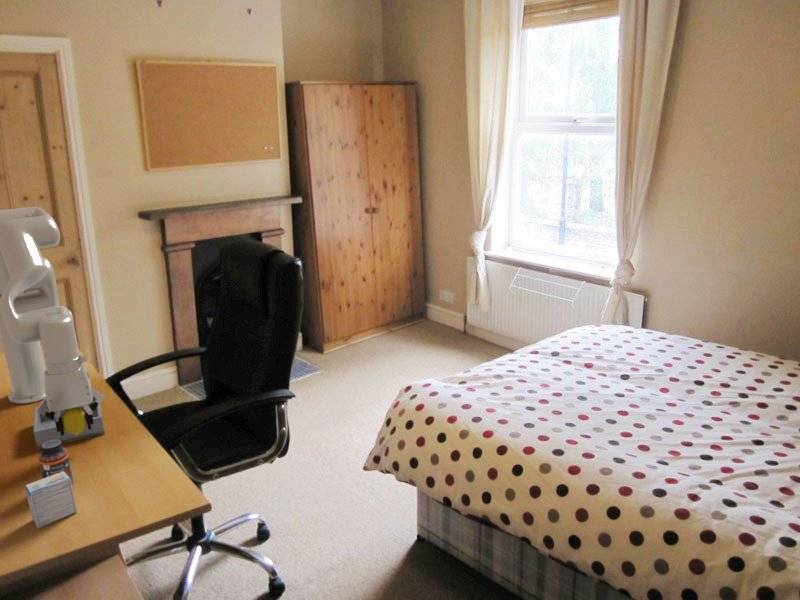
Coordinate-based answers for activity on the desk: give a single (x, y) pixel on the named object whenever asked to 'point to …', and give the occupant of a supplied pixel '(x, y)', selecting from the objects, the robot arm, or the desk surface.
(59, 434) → the tote
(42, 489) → the medicine box
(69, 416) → the lemon
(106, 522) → the desk surface
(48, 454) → the supplement bottle
